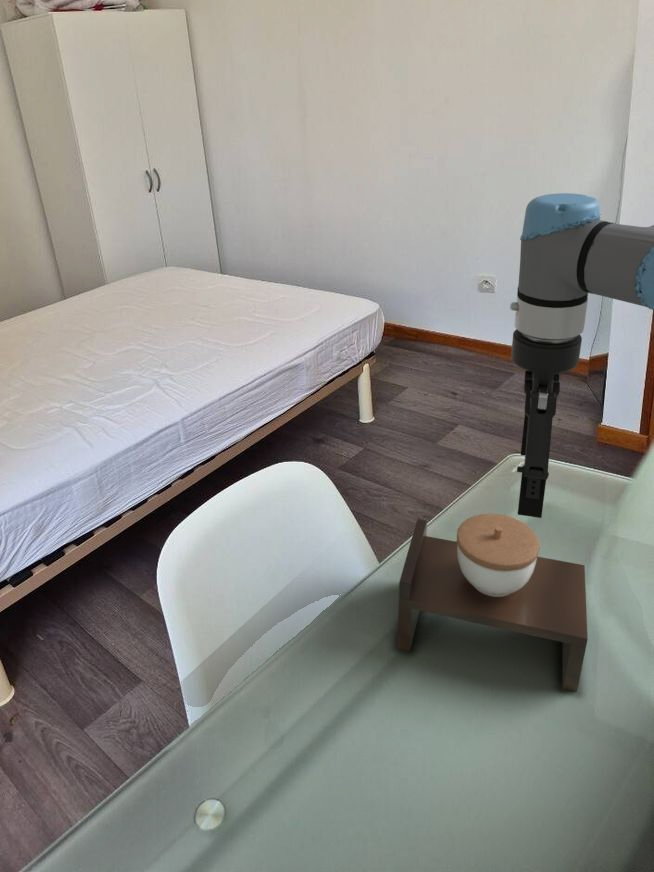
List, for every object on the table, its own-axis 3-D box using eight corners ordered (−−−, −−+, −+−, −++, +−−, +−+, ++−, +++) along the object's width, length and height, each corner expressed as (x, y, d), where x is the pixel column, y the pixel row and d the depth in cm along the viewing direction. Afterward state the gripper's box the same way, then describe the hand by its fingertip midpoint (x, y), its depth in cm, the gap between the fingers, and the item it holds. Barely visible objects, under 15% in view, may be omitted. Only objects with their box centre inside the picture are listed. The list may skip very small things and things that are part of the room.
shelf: (575, 616, 103) (587, 548, 97) (576, 693, 91) (591, 621, 85) (414, 583, 111) (417, 518, 105) (397, 649, 99) (399, 581, 93)
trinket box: (548, 601, 93) (557, 547, 88) (474, 616, 91) (479, 561, 87) (509, 549, 102) (515, 498, 98) (441, 562, 100) (444, 510, 96)
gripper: (516, 294, 91) (504, 431, 101) (509, 374, 70) (494, 539, 80) (577, 296, 89) (559, 437, 98) (588, 381, 68) (564, 550, 77)
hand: (530, 483), depth 89 cm, fingers open, 13 cm apart
